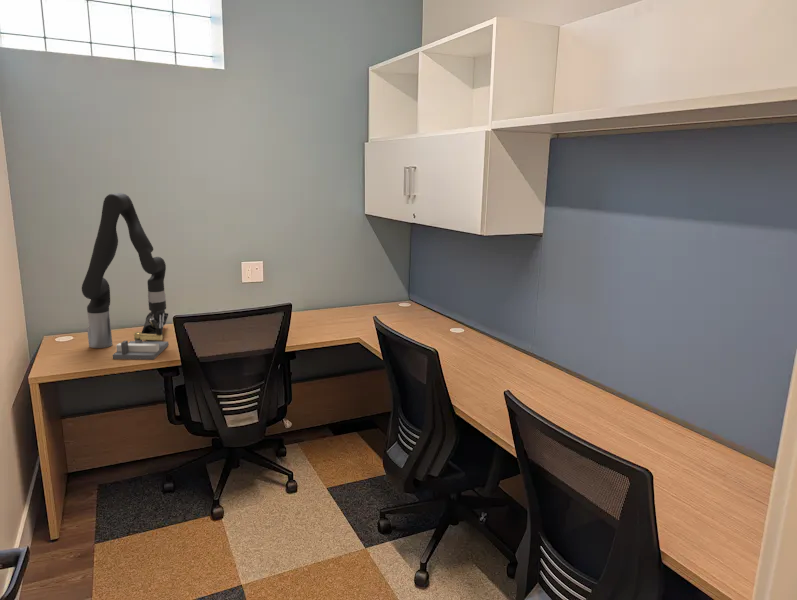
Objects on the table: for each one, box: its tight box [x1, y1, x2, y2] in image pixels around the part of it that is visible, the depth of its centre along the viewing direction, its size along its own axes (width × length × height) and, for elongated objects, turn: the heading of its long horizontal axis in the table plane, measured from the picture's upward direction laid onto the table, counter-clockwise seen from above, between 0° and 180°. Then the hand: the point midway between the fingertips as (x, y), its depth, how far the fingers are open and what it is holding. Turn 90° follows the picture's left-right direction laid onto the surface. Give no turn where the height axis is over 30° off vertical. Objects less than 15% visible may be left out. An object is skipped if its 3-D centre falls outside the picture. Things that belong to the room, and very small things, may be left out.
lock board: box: [112, 339, 170, 360], centre depth 264 cm, size 18×20×8 cm
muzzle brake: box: [141, 311, 165, 341], centre depth 288 cm, size 10×28×10 cm, turn 18°
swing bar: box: [133, 331, 164, 341], centre depth 265 cm, size 13×3×3 cm, turn 90°
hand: (159, 335), depth 268 cm, fingers closed
